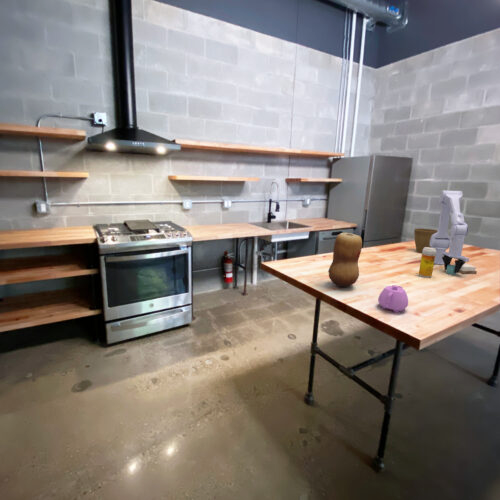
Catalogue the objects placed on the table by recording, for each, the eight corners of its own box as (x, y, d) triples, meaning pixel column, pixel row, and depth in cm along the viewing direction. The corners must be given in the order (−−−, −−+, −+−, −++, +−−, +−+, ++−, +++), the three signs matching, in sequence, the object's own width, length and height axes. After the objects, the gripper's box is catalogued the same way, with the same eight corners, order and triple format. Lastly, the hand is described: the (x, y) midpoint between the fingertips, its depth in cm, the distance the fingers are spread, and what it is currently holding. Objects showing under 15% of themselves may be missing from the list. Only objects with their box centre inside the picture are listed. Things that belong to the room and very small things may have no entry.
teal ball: (446, 274, 161) (448, 266, 160) (445, 271, 165) (446, 264, 164) (456, 275, 159) (458, 267, 158) (455, 273, 163) (456, 265, 162)
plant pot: (439, 255, 202) (444, 232, 198) (417, 254, 202) (421, 231, 198) (427, 250, 216) (431, 228, 213) (407, 249, 216) (410, 227, 213)
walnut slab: (462, 275, 162) (462, 271, 161) (451, 270, 170) (452, 266, 169) (476, 275, 162) (476, 271, 162) (465, 270, 170) (465, 267, 169)
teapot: (372, 309, 115) (375, 286, 113) (385, 298, 126) (388, 277, 124) (400, 317, 108) (404, 294, 106) (412, 305, 119) (416, 283, 117)
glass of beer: (427, 278, 153) (431, 250, 149) (416, 274, 158) (420, 247, 155) (434, 276, 156) (439, 249, 152) (423, 273, 161) (427, 246, 157)
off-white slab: (462, 270, 162) (463, 266, 162) (453, 267, 169) (454, 263, 168) (475, 270, 162) (475, 267, 162) (465, 267, 169) (466, 263, 169)
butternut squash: (353, 293, 130) (359, 237, 125) (323, 287, 137) (328, 234, 131) (360, 284, 142) (366, 233, 136) (332, 278, 149) (337, 229, 143)
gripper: (438, 244, 164) (434, 267, 167) (463, 250, 150) (458, 275, 154) (447, 243, 166) (443, 266, 169) (473, 249, 153) (468, 274, 156)
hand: (451, 271), depth 161 cm, fingers open, 5 cm apart
